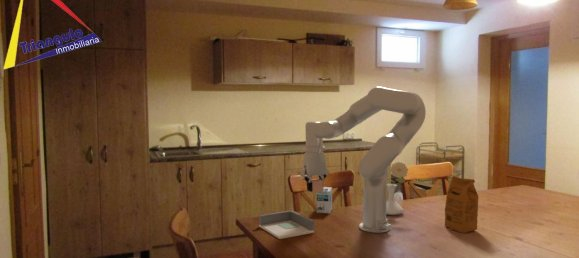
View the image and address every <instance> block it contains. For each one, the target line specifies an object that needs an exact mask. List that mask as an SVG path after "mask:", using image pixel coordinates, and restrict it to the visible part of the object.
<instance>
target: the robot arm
mask: <svg viewBox="0 0 579 258" xmlns="http://www.w3.org/2000/svg"><path fill="white" fill-rule="evenodd" d="M380 111H381V112H382V111H388V112H393V113H398V114H402V116H401V117H400V119H399V120H398V121H397V122H396V123H395V125H394V126H393V127H392V128H391V130H390V131H389V132H387V134H385V135H382V136H381V137H380V138H378V139H377V141H376V142H375V143H374V144H373V145H372V147H370V149H369V150H368V151H367V153H365V155H364V156H363V157H362V158H361V160H360V161H359V164H358V172H359V174H360V176H361V177H362V178H363V193H362V195H363V197H362V198H363V199H362V204H363V205H362V206H363V207H362V208H363V209H362V222H361V223H359V225H358V227H359V229H360V230H362V231H364V232H367V233H374V234H382V233H387V232H389V231H390V230H391V228H392V227H393V225H392V224H390V223H388V222H389V220H388V219H387V214H386V204H387V201H388V199H387V197H388V195H387V194H388V192H387V191H388V187H387V184H388V179H387V178H388V175H389V166H390V165H392V164H393V163H392V162H394V161H395V159H396V158H397V157H398V156H399V155H401V153H402V152H403V150H404V149H405V148H406V147H407V145H408V144H409V143H410V142H411V141H412V140H413V138H414V137H415V135H416V134H417V133H418V132H419V130H421V128H422V127H423V124H424V123H425V119H426V113H427V111H426V105H425V104H424V101H423V98H422V97H421V96H420V95H419V94H418V93H415V92H410V91H406V90H398V89H394V88H387V87H383V86H374V87H373V88H371V89H370V90H369V91H368V93H367V94H366V95H364V96H363V97H361V98H360V99H359V100H358V99H357V101H355V102H353V103H352V104H351V105H350V106H349V109H348V110H347V111H346V112H344V113H343V114H342V115H340V116H339V117H337V118H335V119H332V120H328V121H327V120H326V121H322V122H321V121H308V122H306V123H305V152H304V153H303V159H302V171H301V173H300V175H299V176H300V177H301V178H303V180H304V181H305V182H306V189H307V190H308V191H310V192H309V193H311V192H312V182H311V180H313V176H314V177H315V176H317V177H318V178H317V179H319V180H323V182H325V179H326V178H327V176H328V175H329V174H330V171H329V169H328V168H327V163H326V161H327V160H326V155H325V152H324V150H325V149H326V147H325V146H324V142H323V141H324V139H325V140H326V139H327V140H331V139H335V138H338V137H340V136H342V135H343V134H345V133H347V132H349V131H350V130H352V129H353V128H355V127H356V126H357V125H361V124H362V123H363V122H364V121H366V120H367V119H370V118H371V117H372V116H374V115H375V114H378V113H380ZM307 190H306V191H307ZM308 191H307V192H308Z"/></svg>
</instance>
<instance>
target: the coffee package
mask: <svg viewBox="0 0 579 258" xmlns="http://www.w3.org/2000/svg"><path fill="white" fill-rule="evenodd" d="M475 182H476V181H475V179H473V178H462V177H459V176H457V175H455V174H454V175H452V178H451V180H450V183H449V187H448V190H447V192H446V200H445V207H444V227H445V226H446V227H445V228H448V227H449V229H451V230H452V231H453V230H455V231H454V232H457V231H459V232H458V233H461V232H462V234H466V233H469V232H473V231H474V232H475V231H477V230H478V215H479V213H478V210H479V194H478V191H477V189H476V187H475Z"/></svg>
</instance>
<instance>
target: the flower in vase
mask: <svg viewBox="0 0 579 258" xmlns="http://www.w3.org/2000/svg"><path fill="white" fill-rule="evenodd" d="M389 171H390V173H391V174H392V176H393V177H395V178H396V179H395V181H394V180H392V179H390V178H388V177H387V181H389V182H392V183H387V190H388V199H387V204H386V215H390V216H391V215H392V216H396V215H401V214H403V213H404V212H405V210H404V208H403V207H402V206H401V205H400V204H398V202H397V201H396V200H395V191H396V188H397V186H398V184H397V183H396V181H397V182H398V183H400V184H403V183H406V182H407V181H406V179H405V178H404V177H406V176H407V174H408V171H409V169H408V167H407V166H406V164H405V163H403V162H401V161H397V162H394V163H391V167H390V170H389ZM395 183H396V184H395Z"/></svg>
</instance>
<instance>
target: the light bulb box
mask: <svg viewBox="0 0 579 258" xmlns="http://www.w3.org/2000/svg"><path fill="white" fill-rule="evenodd" d="M332 209H333V187H329V186H323V192H318V193H316V214H317V213H318V214H331V211H332Z"/></svg>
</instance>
